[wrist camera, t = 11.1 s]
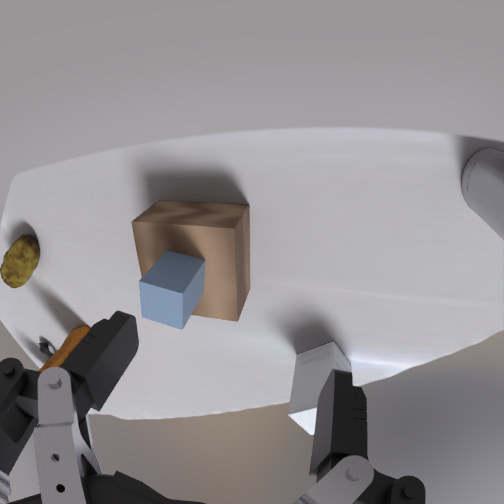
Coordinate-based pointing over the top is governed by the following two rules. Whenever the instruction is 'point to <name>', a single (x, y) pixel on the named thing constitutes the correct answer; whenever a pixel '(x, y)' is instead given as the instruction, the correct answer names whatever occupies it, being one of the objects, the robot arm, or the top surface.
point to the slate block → (172, 289)
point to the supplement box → (313, 381)
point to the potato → (20, 261)
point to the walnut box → (201, 248)
